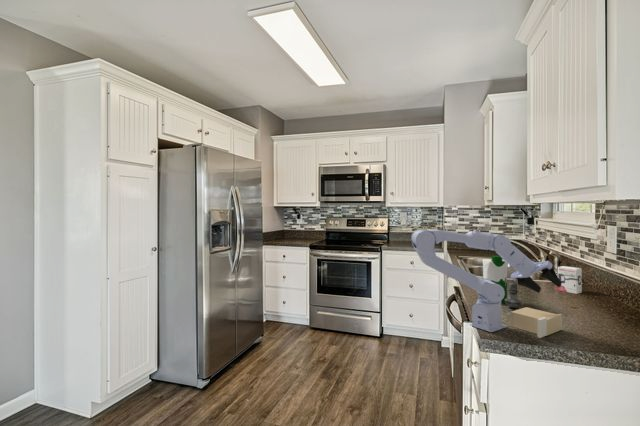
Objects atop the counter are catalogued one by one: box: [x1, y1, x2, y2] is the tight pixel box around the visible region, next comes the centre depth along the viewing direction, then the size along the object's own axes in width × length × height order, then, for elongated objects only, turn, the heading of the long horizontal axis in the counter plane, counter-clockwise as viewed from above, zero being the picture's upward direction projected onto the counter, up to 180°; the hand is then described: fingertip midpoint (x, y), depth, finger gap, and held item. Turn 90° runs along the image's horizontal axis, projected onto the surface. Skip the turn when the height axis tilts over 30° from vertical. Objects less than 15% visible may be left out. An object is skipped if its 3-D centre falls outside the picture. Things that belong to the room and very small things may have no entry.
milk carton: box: [482, 255, 509, 304], centre depth 144 cm, size 9×9×20 cm
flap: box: [536, 313, 563, 339], centre depth 105 cm, size 14×1×6 cm, turn 121°
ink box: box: [556, 265, 583, 294], centre depth 159 cm, size 8×5×12 cm, turn 28°
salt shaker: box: [505, 279, 522, 312], centre depth 131 cm, size 6×6×12 cm
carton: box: [510, 306, 557, 335], centre depth 110 cm, size 10×10×5 cm
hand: (549, 287), depth 111 cm, fingers open, 7 cm apart
